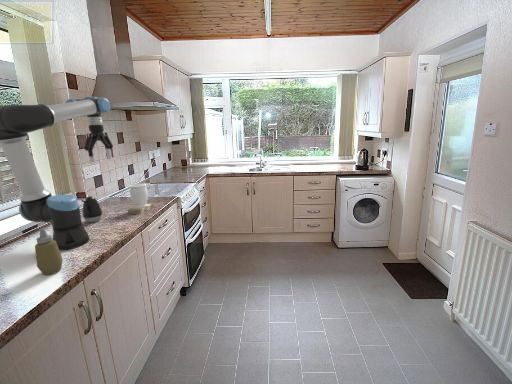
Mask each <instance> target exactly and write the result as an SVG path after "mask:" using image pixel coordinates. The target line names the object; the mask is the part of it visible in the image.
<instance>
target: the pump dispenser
mask: <svg viewBox="0 0 512 384" xmlns="http://www.w3.org/2000/svg"><path fill="white" fill-rule="evenodd" d="M81 203H83V204H82V218H83V219H84V220H85V222H88V223H96V222H98V221H100V220H102V218H103V209H102V207H101V205H100V203H99V201H98V200H97V199H96V197H94V196H92V195H91V196H87V197H85V199H81Z"/></svg>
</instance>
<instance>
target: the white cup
mask: <svg viewBox="0 0 512 384" xmlns="http://www.w3.org/2000/svg"><path fill="white" fill-rule="evenodd" d="M128 187H129V194H130V195H129V196H130V198H131V202H132V204H133V207H134V208H143V207H146V206H147V204H148V203H147V202H148V197H149V192H148V188H147V183H146V182H137V183H132V184H129V185H128Z"/></svg>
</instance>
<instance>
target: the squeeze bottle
mask: <svg viewBox="0 0 512 384" xmlns="http://www.w3.org/2000/svg"><path fill="white" fill-rule="evenodd" d="M52 239H53V235H51V234H48V232H47V231H46V229H45V228H44V227H41V228H39V236H38V237H37V238H36V242H37V243H36V244H35V245H34V248H35V249H34V251H35V258H36V268H38V270H39V271H40V272H41V274H42V275H44V276H50V275H53V274H56V273H58V272H59V271H61V269H62V266H63V257H62V254H61V250H59V248H58V246H57V243H56V241H55V240H52Z"/></svg>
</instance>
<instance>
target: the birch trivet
mask: <svg viewBox="0 0 512 384" xmlns="http://www.w3.org/2000/svg"><path fill="white" fill-rule="evenodd" d="M152 208H154V206H153V203H147V206H146V207H143V208H134V206H132V207H130V208H128V209H127V214H132V215H133V214H134V215H135V214H136V215H141V214H143V213H145V212H147V211H149V210H150V209H152Z"/></svg>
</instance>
